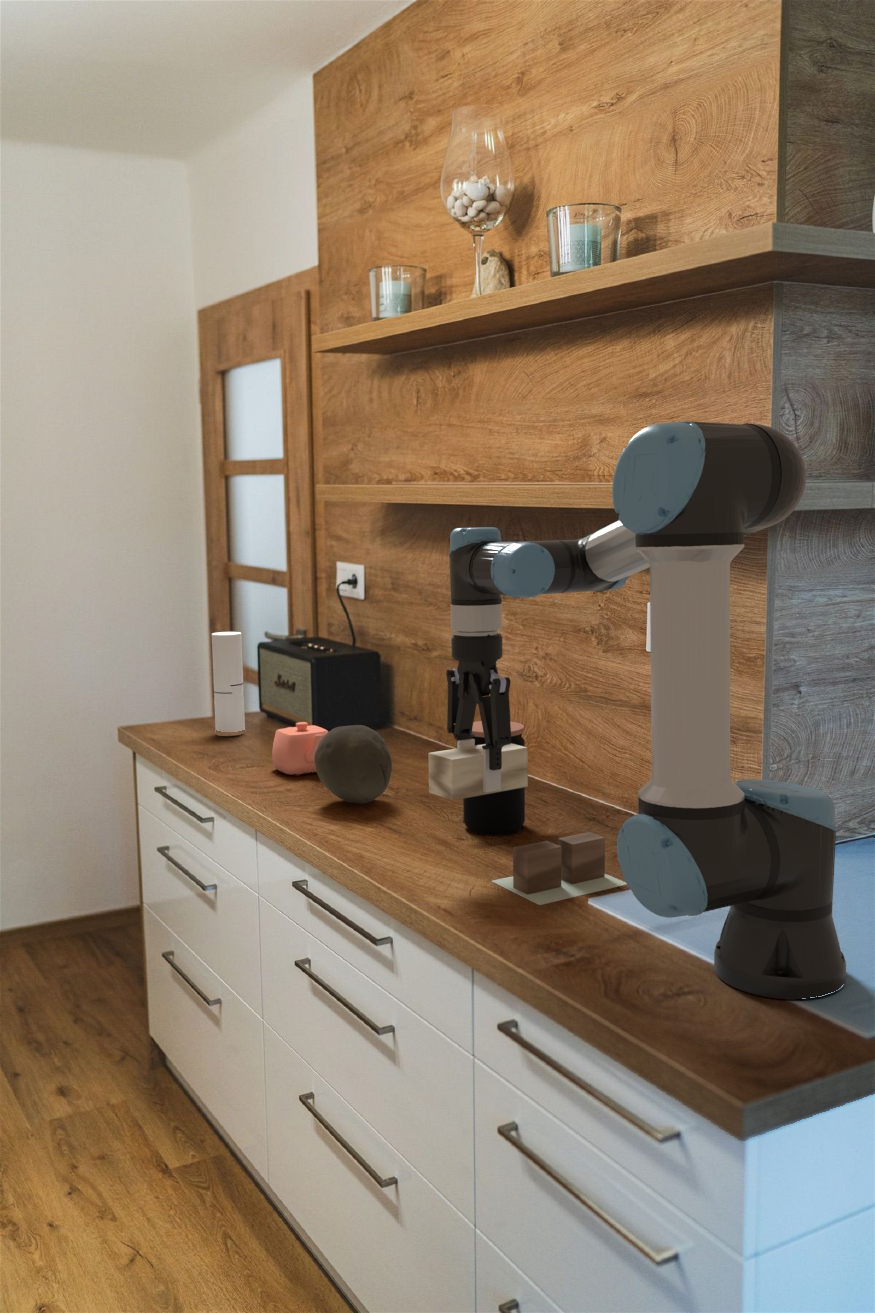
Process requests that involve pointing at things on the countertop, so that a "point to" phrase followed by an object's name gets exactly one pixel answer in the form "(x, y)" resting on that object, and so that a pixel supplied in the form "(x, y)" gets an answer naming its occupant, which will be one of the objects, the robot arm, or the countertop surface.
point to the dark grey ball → (354, 763)
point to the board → (564, 889)
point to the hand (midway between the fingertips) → (479, 786)
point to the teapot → (296, 748)
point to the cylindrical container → (228, 681)
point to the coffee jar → (496, 798)
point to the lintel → (474, 771)
